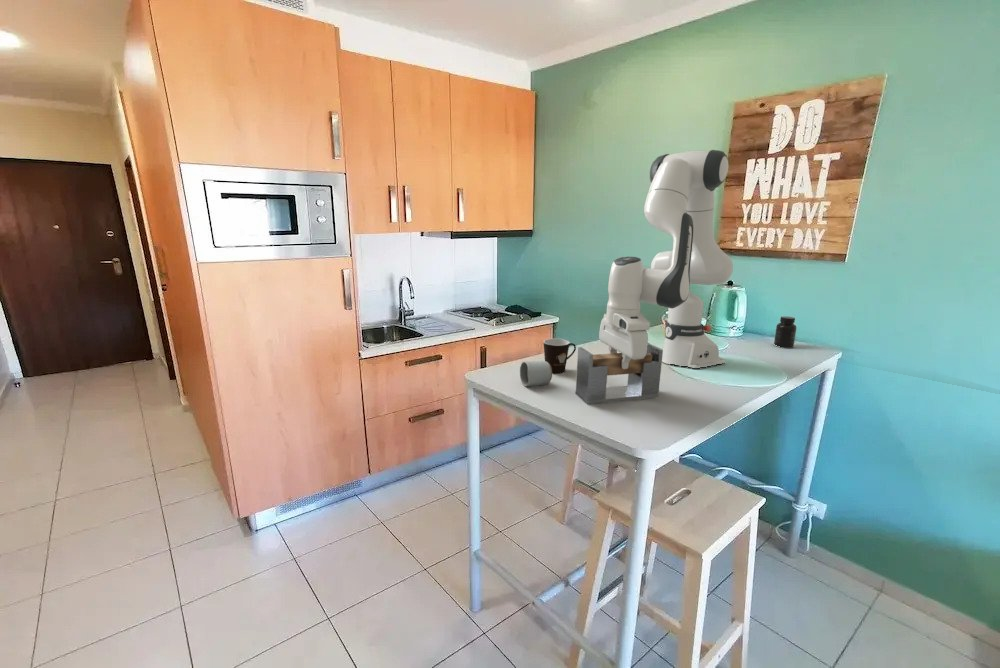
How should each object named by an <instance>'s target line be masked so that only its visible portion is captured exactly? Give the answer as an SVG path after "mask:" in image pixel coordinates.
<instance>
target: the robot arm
mask: <svg viewBox="0 0 1000 668" xmlns="http://www.w3.org/2000/svg"><path fill="white" fill-rule="evenodd" d="M728 172H729V158H728V156H727V154H726V153H725V151H723V150H718V149H717V150H716V149H711V150H688V151H683V152H677V153H671V154H669V153H665V154H663V155H659V156H658V157H656V158H655V159H654V161H652V164H651V166H650V170H649V181H650V186H649V189H648V192H647V194H646V199H645V202H644V207H643V212H644V216H645V219H646V220H647V222H648V223H649V224H651V226H652V227H654V228H655V229H657V230H659V231H661V232H663V233H665V234H667V235H670V236H671V237H672V239H673V244H672V250H666V251H660V252H658V253H657V254H656V255H654V257H653V258H652V261H651V264H650V268H649V267H645V266H644V265H643V262H642V261H643V260H642V259H641V258H640V257H637V256H622V257H618V258H616V259H614V260H613V261H612V264H611V267H610V271H609V278H608V286H607V292H608V300H607V304H606V312H605V313H604V315H603V318H602V319H601V322H600V327H599V333H598V337H599V341H600V342H601V343H602V344H604V345H606V346H608V351H609V354H612V353H622V357H623V360H622V361H621V362H620V367H621V368H622V369H627V368H628V364H629V362H630V360H631V359H643V358H644V357H645V356H646V353H647V345H648V343H649V342H648V341H649V333H648V331H649V330H650V327H651V326H650V325H651V323H650V321H649V320H648V319H647V318H646V316H644V314H643V312H641V303H644V304H650V305H657V306H660V307H665V308H668V311H667V320H666V321H665V327H664V341H663V345H662V348H661V349H662V350H663V355H662V363H664V364H667V365H670V364H675V365H681V366H688V367H694V368H700V367H706V366H711V365H716V364H722V363H725V364H726V360H725V359H724V358H722V357H720V356H719V355H720V353H719V347H718V344H717V343H715V342H714V341H713V340H711V338H710V337H708V336H707V335H706V334H705V331H706V332H711V330H712V326H711V325H708V324H705V325H704V324H703V323H702V321H703V313H704V312H703V311H704V302H703V300H702V299H701V298H700V297H699V296H698V295H696V294H694V293H692V292H691V291H690V289H691V288H690V287H691V285H702V286H703V285H704V286H705V285H706V286H713V285H721V284H722V285H723V284H725V283H726V282H727V281H728V280H729V279H730V278H731V276H732V274H733V271H734V264H733V261H732V259H731V257H730V255H728V254H727V253H725V252H724V251H723V250H722V249H721V248H720V246H719V244H718V243H717V242H716V239H715V237H714V232H713V231H714V227H713V225H714V222H713V221H714V212H715V211H714V208H715V190H716V188H719V187H720V186H721V185H722V184H723V183H724V182H725V180H726V178H727V175H728ZM690 284H691V285H690ZM722 365H723V364H722ZM681 366H680V367H681ZM688 367H687V368H688ZM711 367H712V366H711ZM706 368H707V367H706ZM700 369H701V368H700Z"/></svg>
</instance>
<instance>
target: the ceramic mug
mask: <svg viewBox="0 0 1000 668" xmlns="http://www.w3.org/2000/svg"><path fill="white" fill-rule="evenodd" d="M519 376H520V377H519V378H520V381H521V384H522V385H523V386H524V387H526V388H527V387H535V386H542V385H547V384H550V382H551V380H552V379H553V374H552V368H551V366H550V364H549V363H548V362H546V361H545V360H524V361H522V362H521V363H520V367H519Z"/></svg>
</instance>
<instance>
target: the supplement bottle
mask: <svg viewBox="0 0 1000 668" xmlns="http://www.w3.org/2000/svg"><path fill="white" fill-rule="evenodd" d="M795 320H796V318H795V317H793V316H780V318H779V322H778V323H777V324H776V326H775V327H776V328H775V333H774V334H775V335H774V340H773V345H774V344H775V345H777V346H780V347H779V348H781V347H792V348H794V346H795V341H796V340H795V339H796V336H797V335H796V334H797V325H796V324H795V322H796V321H795ZM775 345H774V346H775ZM777 346H776V347H777Z"/></svg>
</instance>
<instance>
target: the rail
mask: <svg viewBox="0 0 1000 668" xmlns="http://www.w3.org/2000/svg"><path fill="white" fill-rule="evenodd" d="M622 360H623V357H622V353H621V352H617V353H612V354H610V353H601V354H600V353H599V354H593V366H599V365H607V366H608V370H607V377H608V376H618V375H628V374H634V373H641V370H642V362H651V361H652V355H651V354H649V353H646V356H645V357H644V358H643V359H631V360H630V362H629V364H628V368H627V369H622V368H621V367H620V362H621V361H622Z"/></svg>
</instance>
